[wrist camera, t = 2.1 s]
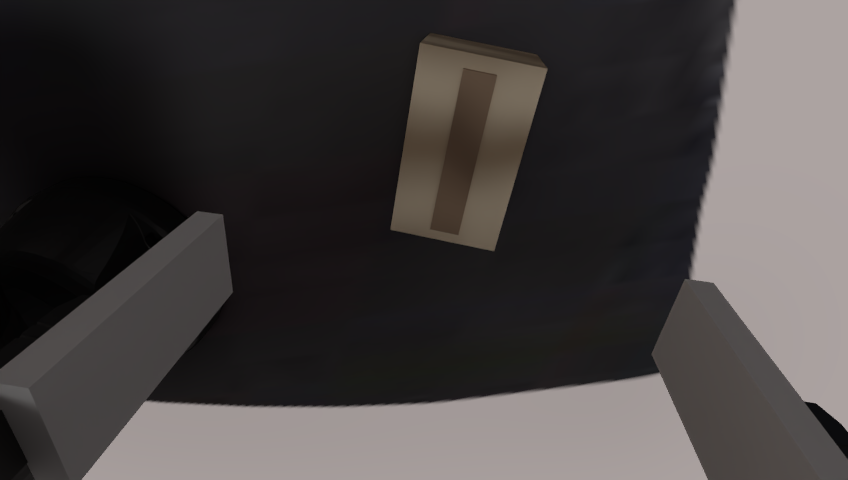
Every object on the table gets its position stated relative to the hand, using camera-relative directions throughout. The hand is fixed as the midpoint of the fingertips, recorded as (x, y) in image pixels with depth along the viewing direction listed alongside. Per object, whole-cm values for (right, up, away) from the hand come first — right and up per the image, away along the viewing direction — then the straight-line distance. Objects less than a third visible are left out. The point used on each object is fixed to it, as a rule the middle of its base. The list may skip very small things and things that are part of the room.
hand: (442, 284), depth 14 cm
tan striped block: (+2, +8, +15) cm, 17 cm away
